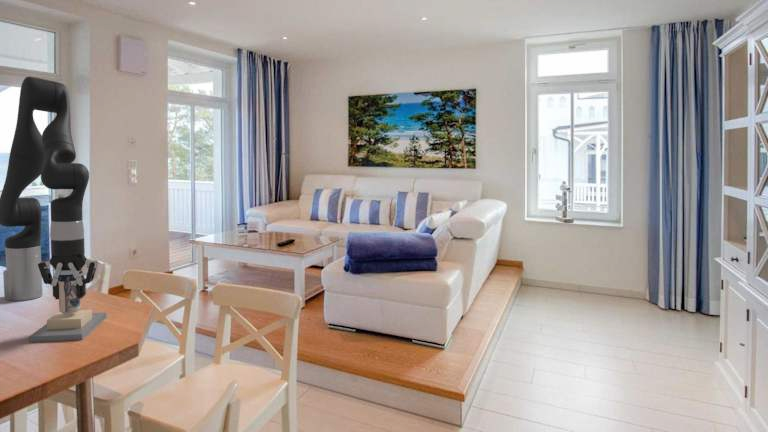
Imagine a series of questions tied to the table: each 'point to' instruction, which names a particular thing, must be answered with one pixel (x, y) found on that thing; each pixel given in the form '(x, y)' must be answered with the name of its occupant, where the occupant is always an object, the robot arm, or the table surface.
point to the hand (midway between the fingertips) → (69, 298)
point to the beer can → (68, 293)
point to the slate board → (67, 332)
